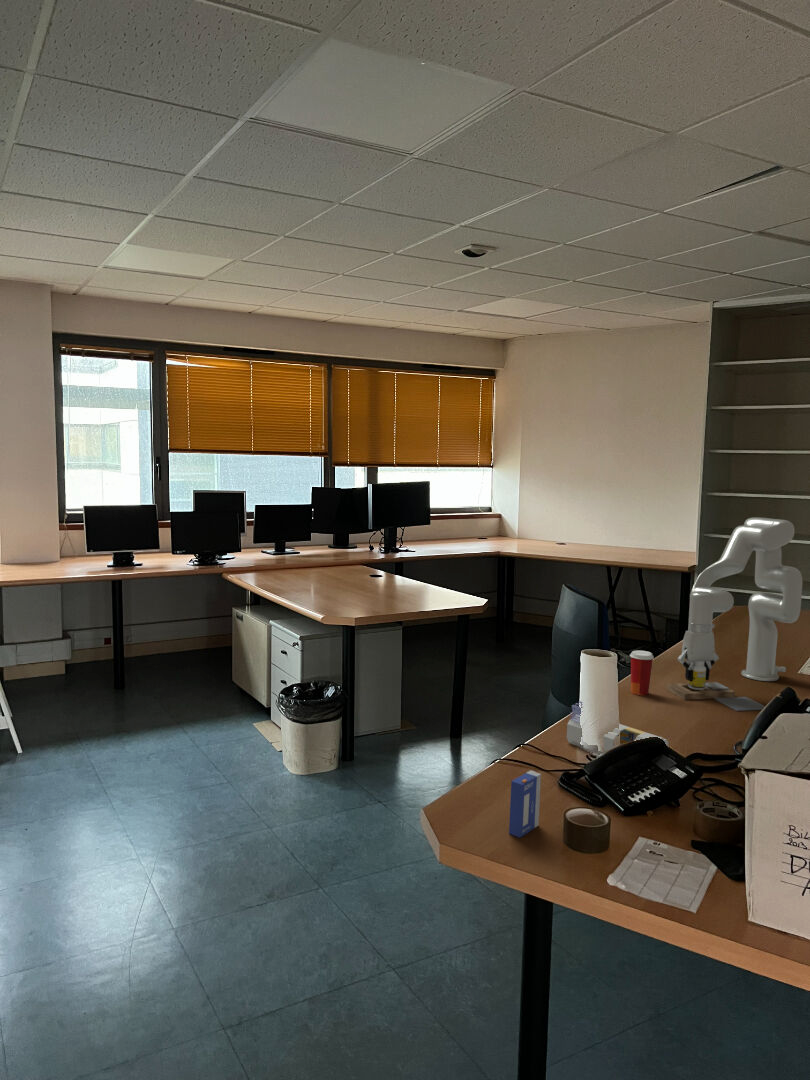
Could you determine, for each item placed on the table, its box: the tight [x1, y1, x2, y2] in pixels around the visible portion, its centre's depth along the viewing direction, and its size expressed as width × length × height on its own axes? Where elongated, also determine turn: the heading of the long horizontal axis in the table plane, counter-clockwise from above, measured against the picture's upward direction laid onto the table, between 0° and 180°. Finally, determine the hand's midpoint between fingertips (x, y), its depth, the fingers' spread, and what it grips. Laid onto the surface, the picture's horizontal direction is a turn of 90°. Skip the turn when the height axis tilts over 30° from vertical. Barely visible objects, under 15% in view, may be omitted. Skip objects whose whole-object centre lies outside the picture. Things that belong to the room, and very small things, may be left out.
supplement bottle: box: [688, 661, 707, 691], centre depth 266 cm, size 5×5×10 cm
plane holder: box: [666, 681, 736, 701], centre depth 267 cm, size 19×11×3 cm, turn 103°
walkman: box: [508, 770, 542, 839], centre depth 166 cm, size 8×3×12 cm, turn 140°
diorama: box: [566, 700, 669, 755], centre depth 211 cm, size 25×10×13 cm, turn 42°
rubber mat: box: [713, 696, 766, 712], centre depth 256 cm, size 12×12×1 cm
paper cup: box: [629, 650, 654, 696], centre depth 265 cm, size 8×8×14 cm
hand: (697, 679), depth 266 cm, fingers closed on supplement bottle, 5 cm apart
